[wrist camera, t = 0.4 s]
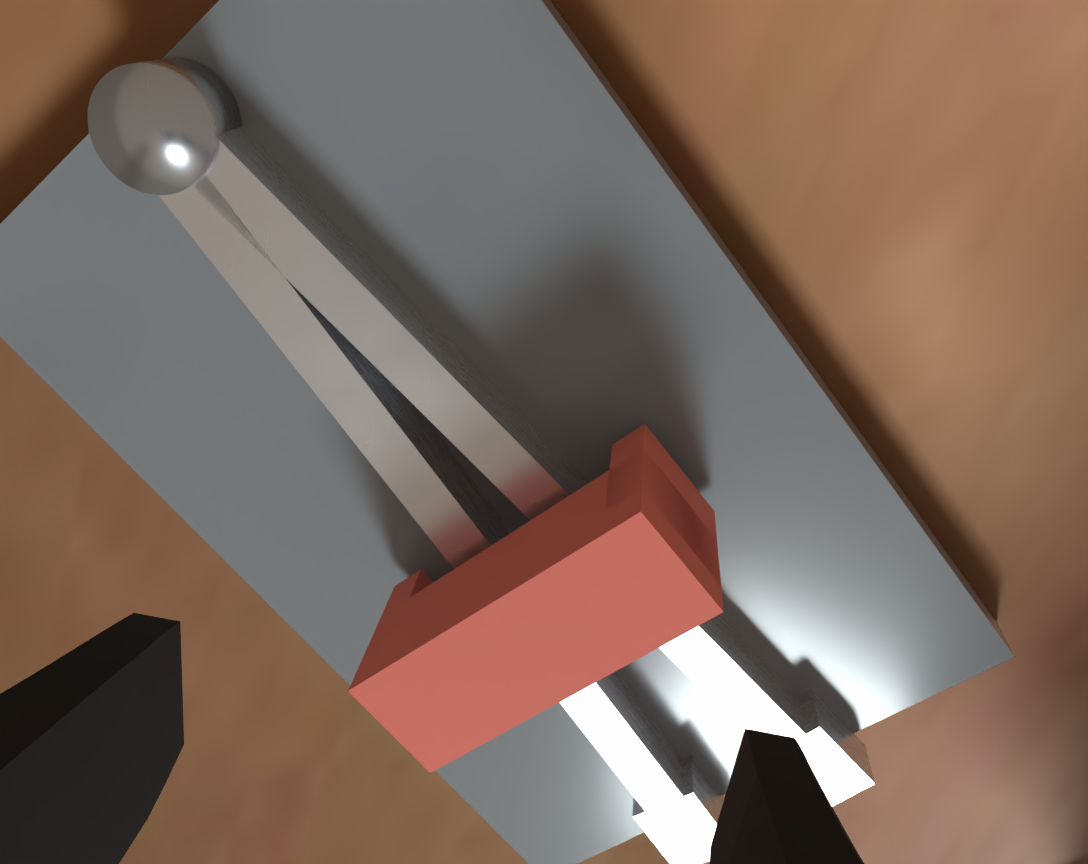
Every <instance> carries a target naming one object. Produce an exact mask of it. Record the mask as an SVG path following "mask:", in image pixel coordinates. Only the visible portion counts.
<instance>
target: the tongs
mask: <svg viewBox="0 0 1088 864" xmlns="http://www.w3.org/2000/svg"><path fill="white" fill-rule="evenodd" d="M87 116H88V128H89V133H90V137H91V141H92V143H93V146H94V148H95V150H96V152H97V154H98V156H99V157H100V159H101V161H102V162H103V164H104V165H105V166H106V167H107V168H108V170H109V171H110V172H111V173H112V174H113V175H114V176H115V177H116V178H118V179H119V180H120V181H121V182H123V183H124V184H126V185H128V186H129V187H131V188H133V189H135V190H137V191H140V192H143V193H147V194H151V195H159V196H160V198H161V199H162V200H163V202H164V203H165V204H166V205H167V207H168V208H169V209H170V210H171V212H172V213H173V214H174V215H175V217H176V218H177V219H178V220H179V222H180V223H181V224H182V226H183V227H184V228H185V229H186V231H187V232H188V233H189V234H190V236H191V237H192V238H193V239H194V241H195V242H196V243H197V245H198V246H199V247H200V248H201V250H202V251H203V252H204V253H205V255H206V256H207V257H208V258H209V260H210V261H211V262H212V264H213V265H214V266H215V267H216V269H217V270H218V271H219V272H220V274H221V275H222V276H223V277H224V279H225V280H226V281H227V283H228V284H229V285H230V286H231V288H232V289H233V290H234V291H235V293H236V294H237V295H238V296H239V298H240V299H241V300H242V301H243V303H244V304H245V305H246V307H247V308H248V309H249V310H250V312H251V313H252V314H253V315H254V317H255V318H256V319H257V320H258V322H259V323H260V324H261V326H262V327H263V328H264V329H265V331H266V332H267V333H268V334H269V336H270V337H271V338H272V339H273V341H274V342H275V343H276V345H277V346H278V347H279V348H280V350H281V351H282V352H283V353H284V355H285V356H286V357H287V358H288V360H289V361H290V362H291V363H292V365H293V366H294V367H295V369H296V370H297V371H298V372H299V374H300V375H301V376H302V377H303V379H304V380H305V381H306V382H307V384H308V385H309V386H310V388H311V389H312V390H313V391H314V393H315V394H316V395H317V396H318V398H319V399H320V400H321V401H322V403H323V404H324V405H325V407H326V408H327V409H328V410H329V412H330V413H331V414H332V415H333V417H334V418H335V419H336V420H337V422H338V423H339V424H340V426H341V427H342V428H343V429H344V431H345V432H346V433H347V434H348V436H349V437H350V438H351V439H352V441H353V442H354V443H355V444H356V446H357V447H358V448H359V450H360V451H361V452H362V453H363V455H364V456H365V457H366V458H367V460H368V461H369V462H370V463H371V465H372V466H373V467H374V469H375V470H376V471H377V472H378V474H379V475H380V476H381V477H382V479H383V480H384V481H385V482H386V484H387V485H388V486H389V488H390V489H391V490H392V491H393V493H394V494H395V495H396V496H397V498H398V499H399V500H400V501H401V503H402V504H403V505H404V506H405V508H406V509H407V510H408V512H409V513H410V514H411V515H412V517H413V518H414V519H415V520H416V522H417V523H418V524H419V525H420V527H421V528H422V529H423V531H424V532H425V533H426V534H427V536H428V537H429V538H430V539H431V541H432V542H433V543H434V544H435V546H436V547H437V548H438V550H439V551H440V552H441V553H442V555H443V556H444V557H445V558H446V560H447V561H448V562H449V563H450V565H451V566H452V567H453V569H455V568H457V567H459V566H460V565H462V564H463V563H465V562H466V561H468V560H469V559H471V558H473V557H474V556H476V555H477V554H479V553H480V552H482V551H484V550H485V549H487V548H488V547H490V546H491V545H493V544H494V543H496V542H498V541H499V540H501V539H502V538H504V537H505V536H507V535H509V534H510V533H512V532H511V530H510V529H509V528H508V526H507V525H506V524H505V523H504V521H503V520H502V519H501V517H500V516H499V515H498V513H497V512H496V511H495V509H494V508H493V507H492V505H491V504H490V503H489V501H488V500H487V499H486V497H485V496H484V495H483V493H482V492H481V491H480V489H479V488H478V487H477V485H476V484H475V483H474V481H473V480H472V479H471V477H470V476H469V475H468V473H467V472H466V471H465V470H464V468H463V467H462V466H461V464H460V463H459V462H458V460H457V459H456V458H455V456H454V455H453V454H452V452H451V451H450V450H449V448H448V447H447V446H446V444H445V443H444V442H443V440H442V439H441V438H440V436H439V435H438V434H437V432H436V431H435V430H434V428H433V427H432V426H431V424H430V423H429V422H428V421H427V419H428V420H429V421H430V422H431V423H432V424H433V425H434V426H435V427H436V428H437V429H438V430H439V431H440V432H441V433H442V434H443V435H445V436H446V437H447V438H448V439H449V440H450V441H451V442H452V443H453V444H454V445H455V446H456V447H457V448H458V449H459V450H460V451H461V452H462V453H463V454H464V455H465V456H466V457H467V458H468V459H469V460H470V461H471V462H472V463H473V464H474V465H475V466H476V467H477V468H478V469H479V470H480V471H481V472H482V473H483V474H484V475H485V476H486V477H487V478H488V479H489V480H490V481H491V482H492V483H493V484H494V485H495V486H496V487H497V488H498V489H499V490H500V491H501V492H502V493H503V494H504V495H505V496H506V497H507V498H508V499H509V500H510V501H511V502H512V503H513V504H514V505H515V506H516V507H517V508H518V509H519V510H520V511H521V512H522V513H523V514H524V515H525V516H526V517H527V518H528V519H529V520H532V519H534V518H535V517H537V516H538V515H540V514H541V513H543V512H545V511H546V510H548V509H549V508H551V507H552V506H554V505H555V504H557V503H559V502H560V501H562V500H563V499H565V498H566V497H568V496H570V495H571V494H573V493H574V492H576V491H577V490H579V489H580V488H582V487H584V486H585V485H587V484H588V483H589V481H588V480H587V479H586V478H585V477H584V476H583V475H582V474H581V473H580V472H579V471H578V470H577V469H576V468H575V467H574V466H573V465H572V464H571V463H570V462H569V461H568V460H567V459H566V458H565V457H564V456H563V455H562V454H561V453H560V452H559V451H558V450H557V449H556V448H555V447H554V446H553V445H552V444H551V442H550V441H549V440H548V439H547V438H546V437H545V436H544V435H543V434H542V433H541V432H540V431H539V430H538V429H537V428H536V427H535V426H534V425H533V424H532V423H531V422H530V421H529V420H528V419H527V418H526V417H525V416H524V415H523V414H522V413H521V412H520V411H519V410H518V409H517V408H516V407H515V406H514V405H513V403H512V402H511V401H510V400H509V399H508V398H507V397H506V396H505V395H504V394H503V393H502V392H501V391H500V390H499V389H498V388H497V387H496V386H495V385H494V384H493V383H492V382H491V381H490V380H489V379H488V378H487V377H486V376H485V375H484V374H483V373H482V372H481V371H480V370H479V369H478V368H477V367H476V366H475V365H474V363H473V362H472V361H471V360H470V359H469V358H468V357H467V356H466V355H465V354H464V353H463V352H462V351H461V350H460V349H459V348H458V347H457V346H456V345H455V344H454V343H453V342H452V341H451V340H450V339H449V338H448V337H447V336H446V335H445V334H444V333H443V332H442V331H441V330H440V329H439V328H438V327H437V326H436V324H435V323H434V322H433V321H432V320H431V319H430V318H429V317H428V316H427V315H426V314H425V313H424V312H423V311H422V310H421V309H420V308H419V307H418V306H417V305H416V304H415V303H414V302H413V301H412V300H411V299H410V298H409V297H408V296H407V295H406V294H405V293H404V292H403V291H402V290H401V289H400V288H399V287H398V285H397V284H396V283H395V282H394V281H393V280H392V279H391V278H390V277H389V276H388V275H387V274H386V273H385V272H384V271H383V270H382V269H381V268H380V267H379V266H378V265H377V264H376V263H375V262H374V261H373V260H372V259H371V258H370V257H369V256H368V255H367V254H366V253H365V252H364V251H363V250H362V249H361V248H360V246H359V245H358V244H357V243H356V242H355V241H354V240H353V239H352V238H351V237H350V236H349V235H348V234H347V233H346V232H345V231H344V230H343V229H342V228H341V227H340V226H339V225H338V224H337V223H336V222H335V221H334V220H333V219H332V218H331V217H330V216H329V215H328V214H327V213H326V212H325V211H324V210H323V209H322V207H321V206H320V205H319V204H318V203H317V202H316V201H315V200H314V199H313V198H312V197H311V196H310V195H309V194H308V193H307V192H306V191H305V190H304V189H303V188H302V187H301V186H300V185H299V184H298V183H297V182H296V181H295V180H294V179H293V178H292V177H291V176H290V175H289V174H288V173H287V172H286V171H285V170H284V169H283V167H282V166H281V165H280V164H279V163H278V162H277V161H276V160H275V159H274V158H273V157H272V156H271V155H270V154H269V153H268V152H267V151H266V150H265V149H264V148H263V147H262V146H261V145H260V144H259V143H258V142H257V141H256V140H255V139H254V138H253V137H252V136H251V135H250V134H249V133H248V132H247V131H246V130H245V128H244V127H243V126H242V119H241V114H240V110H239V107H238V104H237V102H236V99H235V97H234V95H233V94H232V92H231V90H230V89H229V87H228V86H227V85H226V83H225V82H224V81H223V80H222V79H221V78H220V77H219V76H218V75H217V74H216V73H215V72H214V71H212V70H211V69H210V68H208V67H206V66H205V65H203V64H201V63H199V62H197V61H194V60H191V59H187V58H182V57H169V58H162V59H156V60H149V61H143V62H137V63H131V64H126V65H122V66H119V67H117V68H114V69H113V70H111V71H110V72H108V73H107V74H106V75H104V76H103V77H102V78H101V79H100V81H99V82H98V83H97V85H96V86H95V88H94V90H93V92H92V95H91V97H90V101H89V105H88V113H87ZM424 416H425V417H426V418H427V419H426V418H425V417H424ZM659 648H660V649H661V650H662V651H663V652H664V653H665V654H666V655H667V656H668V657H669V658H670V659H671V660H672V661H673V662H674V663H675V664H676V665H677V666H678V667H679V668H680V669H681V670H682V671H683V672H684V673H685V674H686V675H687V676H688V677H689V678H690V679H691V680H692V681H693V682H694V683H695V684H696V685H697V686H698V687H699V688H700V689H701V690H702V691H703V692H704V693H705V694H706V695H707V696H708V697H709V698H710V699H711V700H712V701H713V702H714V703H715V704H716V705H717V706H718V707H719V708H720V709H721V710H722V711H723V712H724V713H725V714H726V715H727V716H728V717H729V718H730V719H731V720H732V721H733V722H734V723H735V724H736V725H737V726H738V727H739V728H740V729H741V730H742V731H743V732H744V730H745V728H746V729H751V730H756V731H762V732H767V733H772V734H778V735H783V736H788V737H794V738H795V739H796V740H797V742H798V743H799V745H800V746H801V748H802V750H803V752H804V754H805V756H806V758H807V760H808V762H809V764H810V766H811V768H812V770H813V772H814V773H815V775H816V777H817V779H818V781H819V783H820V785H821V787H822V789H823V791H824V793H825V795H826V796H827V798H828V800H829V802H830V804H831V806H834V805H836V804H838V803H840V802H841V801H843V800H845V799H847V798H849V797H851V796H853V795H855V794H857V793H858V792H860V791H862V790H864V789H866V788H868V787H870V786H872V785H874V784H875V782H874V778H873V774H872V770H871V766H870V763H869V759H868V755H867V751H866V747H865V744H864V743H863V742H862V741H861V740H860V739H859V738H858V737H857V736H856V735H855V734H854V733H853V732H852V731H851V730H850V729H849V728H848V727H847V726H846V725H845V724H844V723H843V722H842V721H841V720H840V719H839V717H838V716H837V715H836V714H835V713H834V712H833V711H832V710H831V709H830V708H829V707H828V706H827V705H826V704H825V703H824V702H823V701H822V700H821V699H820V698H819V697H818V696H817V695H816V694H815V693H814V692H813V691H812V690H811V691H809V692H807V693H806V694H804V695H802V696H801V697H798V696H797V695H796V694H795V693H794V692H793V691H792V690H791V689H790V688H789V687H788V686H787V685H786V684H785V683H784V682H783V681H782V680H781V679H780V677H779V676H778V675H777V674H776V673H775V672H774V671H773V670H772V669H771V668H770V667H769V666H768V665H767V664H766V663H765V662H764V661H763V660H762V659H761V658H760V657H759V656H758V655H757V654H756V653H755V652H754V651H753V650H752V649H751V648H750V647H749V646H748V645H747V644H746V643H745V642H744V641H743V640H742V638H741V637H740V636H739V635H738V634H737V633H736V632H735V631H734V630H733V629H732V628H731V627H730V626H729V625H728V624H727V623H726V622H725V621H724V620H723V619H722V618H721V617H720V616H719V615H717V616H716V617H714V618H712V619H710V620H708V621H706V622H705V623H703V624H701V625H699V626H697V627H695V628H694V629H692V630H690V631H688V632H686V633H685V634H683V635H681V636H679V637H677V638H675V639H674V640H672V641H670V642H668V643H666V644H665V645H663V646H661V647H659ZM559 703H560V704H561V705H562V706H563V708H564V709H565V710H566V712H567V713H568V714H569V715H570V717H571V718H572V719H573V720H574V722H575V723H576V724H577V725H578V727H579V728H580V729H581V730H582V732H583V733H584V734H585V736H586V737H587V738H588V739H589V741H590V742H591V743H592V744H593V746H594V747H595V748H596V749H597V751H598V752H599V753H600V755H601V756H602V757H603V758H604V760H605V761H606V762H607V763H608V765H609V766H610V767H611V768H612V770H613V771H614V772H615V774H616V775H617V776H618V777H619V779H620V780H621V781H622V782H623V784H624V785H625V786H626V787H627V789H628V790H629V791H630V793H631V794H632V795H633V818H634V819H635V821H636V822H637V823H638V824H639V826H640V827H641V828H642V829H643V831H644V832H645V833H646V834H647V836H648V837H649V838H650V839H651V841H652V842H653V843H654V844H655V846H656V847H657V848H658V849H659V851H660V852H661V853H662V854H663V856H664V857H665V858H666V859H667V861H668V862H669V863H670V864H702V863H704V862H707V861H710V846H711V842H712V839H713V835H714V832H715V829H716V825H717V822H718V818H719V815H720V812H721V808H722V805H723V802H724V797H723V796H722V794H721V793H720V792H719V790H718V789H717V788H716V786H715V785H714V784H713V782H712V781H711V780H710V778H709V777H708V776H707V774H706V773H705V772H704V770H703V769H702V768H701V766H700V765H699V764H698V762H697V761H696V760H695V758H694V757H693V756H692V755H690V756H687V757H685V758H682V757H681V756H680V754H679V753H678V752H677V750H676V749H675V748H674V746H673V745H672V744H671V742H670V741H669V740H668V738H667V737H666V736H665V734H664V733H663V732H662V730H661V729H660V728H659V726H658V725H657V724H656V723H655V721H654V720H653V719H652V717H651V716H650V715H649V713H648V712H647V711H646V709H645V708H644V707H643V705H642V704H641V703H640V701H639V700H638V699H637V697H636V696H635V695H634V693H633V692H632V691H631V689H630V688H629V687H628V685H627V684H626V683H625V681H624V680H623V679H622V677H621V676H620V675H619V674H618V672H617V671H615V672H614V673H612V674H610V675H608V676H606V677H604V678H603V679H601V680H599V681H597V682H595V683H594V684H592V685H590V686H588V687H586V688H584V689H583V690H581V691H579V692H577V693H575V694H574V695H572V696H570V697H568V698H566V699H564V700H563V701H561V702H559Z"/></svg>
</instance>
